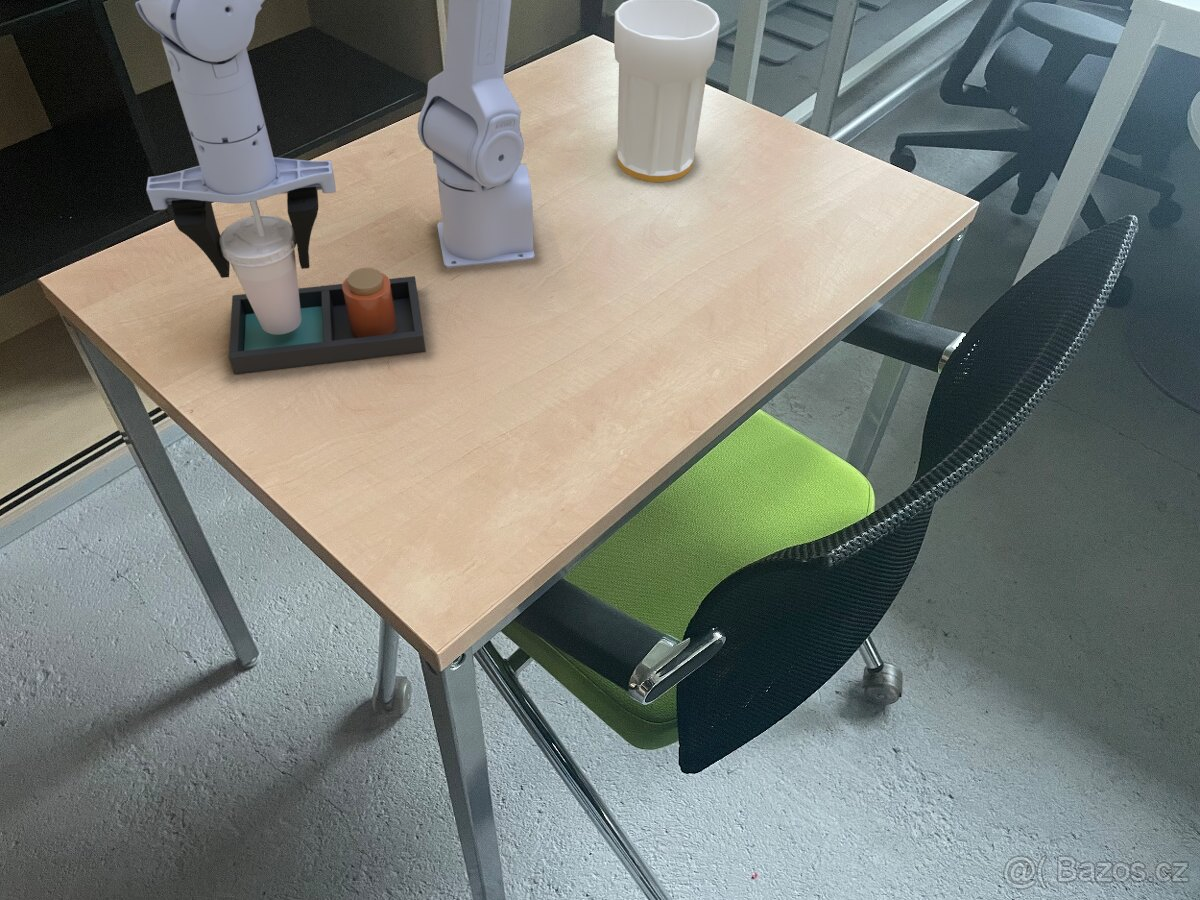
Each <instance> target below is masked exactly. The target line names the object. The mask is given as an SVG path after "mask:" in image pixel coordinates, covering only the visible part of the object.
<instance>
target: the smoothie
mask: <svg viewBox="0 0 1200 900" xmlns="http://www.w3.org/2000/svg"><path fill="white" fill-rule="evenodd" d="M249 205H250V208H251V212H252V216H251V215H250V216H248V217H244V218H241V219H238V220H236V221H233V222H232V223H231V224H229V225H228V226H226V228H225V229H223V231H222V232H221V233H220V239H219V243H220V247H221V252H222V255H223V257H224V258H225V259H227V260H228V261H229V263H230V266H231V268H232V270H233V271H234V273H235V275H236V278H237V279H238V281H239V284H240V286H241V287H242V290H243V292H244V294H246V296H247V298H248V300H249V302H250V304H251V306H252V308H253V310H254V312H255V315H256V317H257V319H258V321H259V323H260V325H261V327H262V329H263V330H264V331H265V332H267V333H270V334H275V335H280V334H286V333H289V332H292V331H293V330H295V329H296V328H297V327H298V326H299V325H300V324H301V320H302V319H301V309H300V299H299V290H298V288H299V281H298V270H297V262H296V260H297V259H296V251H295V249H296V246H297V242H296V238H295V234H294V231H293V228H292V224H291V222H290V221H288V220H286V219H284V218H282V217H279V216H275V215H270V214H269V215H268V214H261V212H260V208H259V205H258V200H257V201H253V202H249Z"/></svg>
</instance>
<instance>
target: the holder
mask: <svg viewBox="0 0 1200 900" xmlns="http://www.w3.org/2000/svg"><path fill="white" fill-rule="evenodd" d="M389 280H390V283H391V290H392V296H393V302H394V308H395V315H396V321H397V327H396V330H395V331H394V332H393V333H392V334H386V335H377V336H369V337H360V338H357V337H356V336H354V335H353V333H352V332H351V328H350V323H349V318H348V313H347V309H346V304H345V299H344V294H343V289H342V285H343V283H335V284H328V285H319V286H318V285H317V286H309V287H298V290H299V299H300V309H301V319H302V320H301V324H300V325H299V326H298V327H297V328H296V329H295V330H293V331H292V332H289V333H286V334H280V335H275V334H270V333H267V332H265V331H264V330H263V329H262V327H261V325H260V323H259V321H258V319H257V317H256V315H255V312H254V310H253V308H252V306H251V304H250V302H249V300H248V298H247V296H246V294H245V293H242V294H241V293H240V294H232V297H231V316H230V330H229V348H228V349H229V350H228V360H229V363H230V367H231V369H232V373H233V375H244V374H251V373H252V374H253V373H261V372H269V371H277V370H286V369H287V370H288V369H294V368H295V369H296V368H302V367H311V366H319V365H320V366H321V365H328V364H336V363H338V364H339V363H345V362H355V361H362V360H370V359H378V358H388V357H396V356H404V355H411V354H420V353H426V352H427V350H426V343H425V336H424V329H423V323H422V322H423V321H422V315H421V309H420V308H421V307H420V301H419V295H418V288H417V281H416V276H414V275H413V276H403V277H394V278H389Z"/></svg>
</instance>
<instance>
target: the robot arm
mask: <svg viewBox="0 0 1200 900" xmlns="http://www.w3.org/2000/svg"><path fill="white" fill-rule="evenodd" d="M265 1H266V0H138V1H136V2H135V3H134V4H135V8H136V10H137V12H138V14H139V16H140V18H141V19H142V20H143V22H144V23H145V24H146V25H147V26H148V27H150V29H152V30H154V31H155V32H156V33H158V34H159V35H160V36H161V43H162V47H163V49H164V53H165V56H166V59H167V63H168V66H169V69H170V74H171V78H172V82H173V85H174V88H175V90H176V95H177V97H178V101H179V104H180V107H181V110H182V113H183V117H184V120H185V123H186V126H187V130H188V132H189V135H190V139H191V141H192V146H193V149H194V151H195V154H196V158H197V161H198V165H196V166H193V167H190V168H186V169H183V170H179V171H175V172H171V173H170V172H169V173H166V174H161V175H154V176H148V177H147V182H146V194H147V196H148V199H149V202H150V204H151V207H152V210H153V211H162V210H166V209H168V207H169V205H171V207H172V211H173V223H174V224H175V227H176V228H177V229H178V231H179V232H181V233H183V234H184V235H185V236H186V237H187V238H189V239H190V240H191V241H192V242H194V244H196V245H197V246H198V248H199V249H200V250H201V251H202V252H203V253H204V254H205V255H206V257H207V258H208V259H209V260H210V262H211V263H212V265H213V267H214V268H215V269H216V271H217V272H218V274H219V276H220V278H222V279H225V278H230V270H231V269H230V266H231V263H230V262H229V261H228V260H227V259H225V258H224V257H223V255H222V252H221V247H220V243H219V239H220V236H221V232H220V230H219V227H218V223H217V219H216V216H215V212H214V209H213V204H212V202H213V203H223V204H234V205H235V204H247V203H250V202H253V201H257V202H258V201H260V200H264V199H266V198H271V197H274V196H276V195H281V194H286V206H287V207H286V208H287V209H286V210H287V215H288V218H289V222H290V224H291V225H292V228H293V231H294V234H295V238H296V242H297V244H296V246H297V247H296V248H297V255H298V262H299V265H300V269H301V270H306V269H310V265H311V264H310V253H309V252H310V251H309V248H310V241H311V235H312V231H313V227H314V225H315V221H316V220H317V218H318V213H319V212H318V211H319V206H320V205H319V195H318V194H319V193H318V191H320V190H321V192H322V194H333V193H334V194H335V193H336V192H337V189H336V179H335V174H334V169H333V164H332V160H330V159H329V160H305V159H295V158H286V157H285V158H284V157H275V156H274V154H273V150H272V144H271V142H270V136H269V133H268V129H267V125H266V120H265V117H264V113H263V109H262V104H261V101H260V97H259V92H258V89H257V83H256V80H255V76H254V72H253V68H252V64H251V62H250V57H249V53H248V49H247V48H248V46H249V45H250V43H251V41H252V39H253V36H254V33H255V27H256V18H257V15H258V14H259V13H260V12H261V10H262V9H263V8H262V4H263V3H264V2H265ZM511 7H512V0H448V8H447V24H446V25H447V26H446V42H445V55H444V69H443V70H442V71H441V72H439V73H438V74H436V75H434V77H432V78H430V79H429V80H428V82H427V91H426V98H425V101H424V103H423V106H422V108H421V110H420V113H419V116H418V119H417V120H418V121H417V134H418V138H419V141H420V143H422V145H423V147H424V148H426V149H428V150H429V151H431V152H432V161H433V164H434V165H435V167H436V168H435V169H436V176H437V186H438V195H439V196H438V197H439V205H440V213H441V214H440V216H441V221H439V222H438V223H437V224H436V227H437V231H438V238H439V245H440V250H441V254H442V260H443V266H444V267H445V268H447V269H451V268H453V269H454V268H462V267H470V266H471V267H472V266H481V265H490V264H499V263H508V262H509V263H510V262H518V261H519V262H521V261H529V260H533V259H535V252H534V251H535V250H534V215H533V213H534V211H533V210H534V209H533V208H534V207H533V194H532V184H531V179H530V173H529V170H528V166H527V165H526V163H523V162H522V160H523V158H524V157H523V156H524V150H525V142H524V137H523V135H522V131H521V115H522V114H521V113H522V110H521V108H520V105H519V104H518V102H517V101H516V99H515V96H514V95H513V93H512V91H511V89H510V88H509V86H508V84H507V83H506V80H505V78H504V77H505V76H504V75H505V66H506V57H507V47H508V39H509V38H508V37H509V28H510V18H511V17H510V16H511Z"/></svg>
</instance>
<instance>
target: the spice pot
mask: <svg viewBox="0 0 1200 900" xmlns="http://www.w3.org/2000/svg"><path fill="white" fill-rule="evenodd" d="M389 279H390V277H388V276H387V275H386V274H384V273H383V272H381V271H380V270H379V269H377V268H374V267H361V268H357V269H355V270H353V271H351V272H350V273H349V275H348V276H347V277H346V278H345V279H344V281H343V283H342V284H343V285H342V289H343V294H344V299H345V304H346V309H347V313H348V318H349V323H350V328H351V332H352V333H353V335H354V336H356V337H357V338H360V337H369V336H377V335H386V334H392V333H393V332H394V331H395V330H396V327H397V321H396V315H395V308H394V302H393V296H392V290H391V283H390V280H389Z"/></svg>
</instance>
